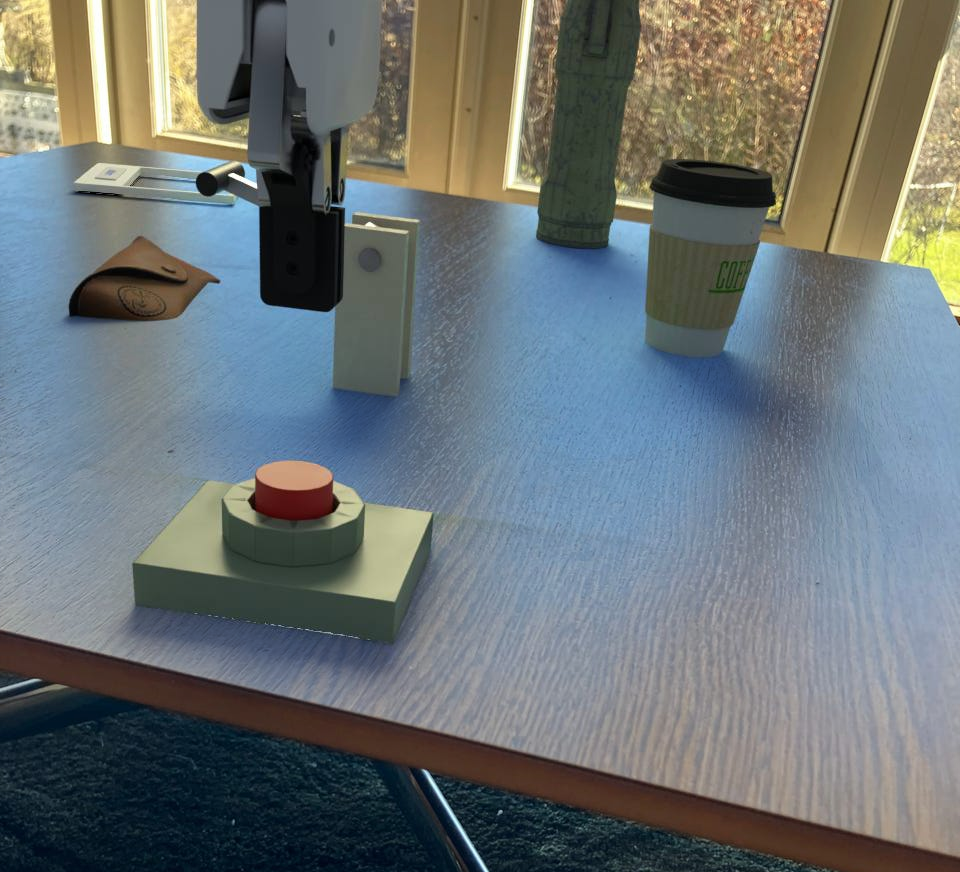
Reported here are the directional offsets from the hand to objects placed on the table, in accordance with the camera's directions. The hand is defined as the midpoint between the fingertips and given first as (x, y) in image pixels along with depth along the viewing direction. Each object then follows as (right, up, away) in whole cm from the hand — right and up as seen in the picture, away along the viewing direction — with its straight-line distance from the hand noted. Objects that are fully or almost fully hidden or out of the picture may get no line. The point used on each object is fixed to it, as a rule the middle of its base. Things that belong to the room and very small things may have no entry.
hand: (302, 303), depth 48 cm
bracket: (0, +2, +30) cm, 30 cm away
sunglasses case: (-19, +13, +44) cm, 50 cm away
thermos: (+19, +33, +85) cm, 93 cm away
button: (-1, -8, +5) cm, 10 cm away
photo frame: (-31, +40, +89) cm, 102 cm away
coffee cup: (+24, +9, +46) cm, 53 cm away
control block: (-2, -11, +7) cm, 13 cm away
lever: (-4, +12, +25) cm, 28 cm away
